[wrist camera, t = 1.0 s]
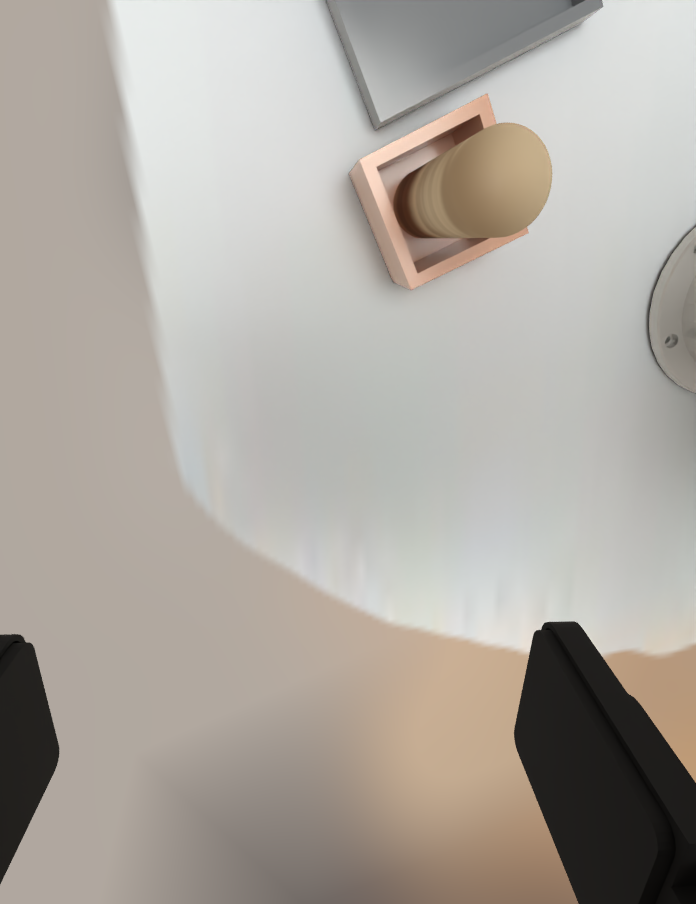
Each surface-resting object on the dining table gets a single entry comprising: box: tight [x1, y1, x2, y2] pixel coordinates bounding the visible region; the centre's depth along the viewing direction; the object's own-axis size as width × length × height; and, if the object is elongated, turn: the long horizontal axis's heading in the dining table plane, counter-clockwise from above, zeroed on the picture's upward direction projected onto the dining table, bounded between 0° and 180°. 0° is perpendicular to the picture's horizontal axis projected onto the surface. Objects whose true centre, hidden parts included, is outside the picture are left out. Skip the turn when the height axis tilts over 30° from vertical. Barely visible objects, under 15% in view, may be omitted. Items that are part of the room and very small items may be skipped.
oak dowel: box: [393, 123, 552, 238], centre depth 24 cm, size 4×4×12 cm
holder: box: [349, 93, 529, 290], centre depth 28 cm, size 6×6×6 cm
